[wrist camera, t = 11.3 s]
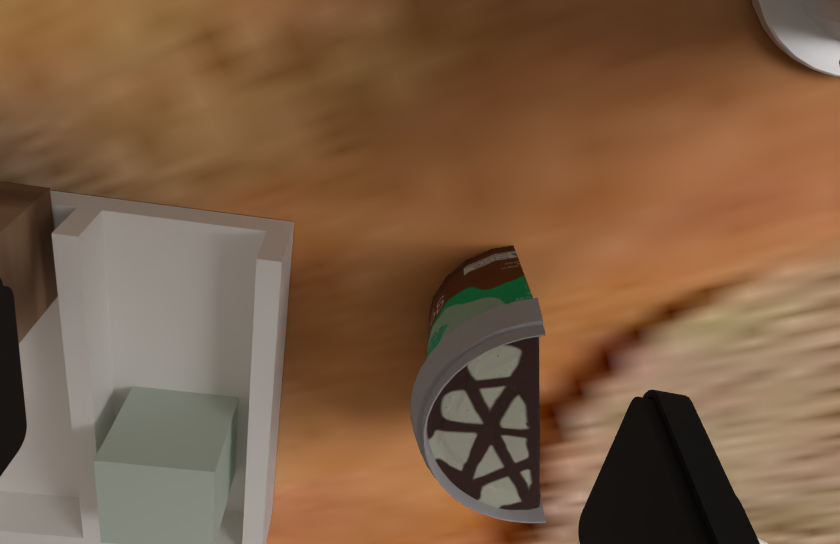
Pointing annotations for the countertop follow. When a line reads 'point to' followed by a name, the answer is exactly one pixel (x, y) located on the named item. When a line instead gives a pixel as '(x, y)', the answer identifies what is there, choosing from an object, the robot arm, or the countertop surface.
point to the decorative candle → (762, 543)
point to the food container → (483, 389)
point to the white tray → (148, 353)
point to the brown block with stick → (27, 251)
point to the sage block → (167, 468)
